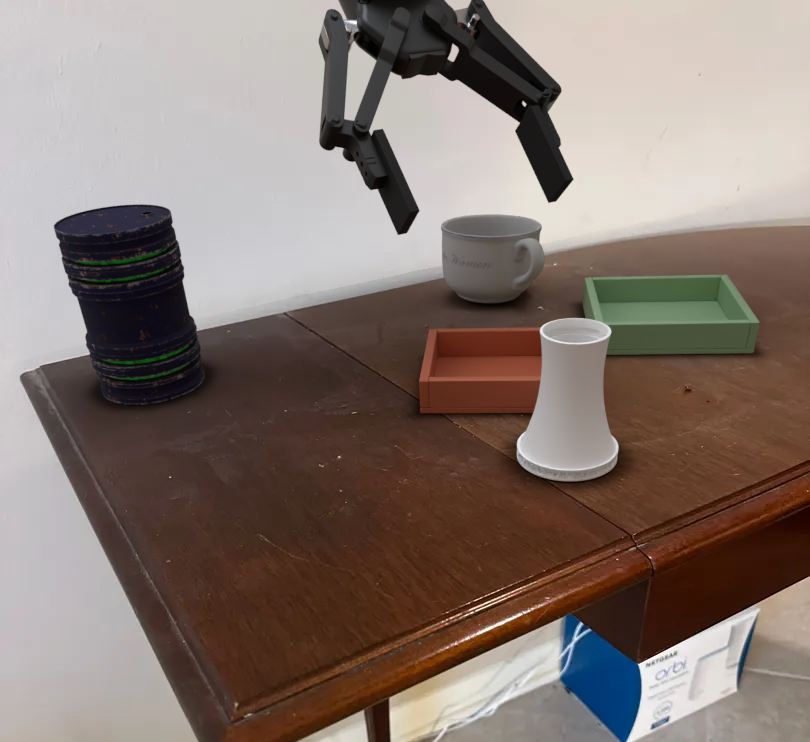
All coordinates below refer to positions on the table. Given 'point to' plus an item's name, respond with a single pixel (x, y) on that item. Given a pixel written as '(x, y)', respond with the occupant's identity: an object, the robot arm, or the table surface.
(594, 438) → the vase
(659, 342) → the green tray
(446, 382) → the terracotta tray
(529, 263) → the teacup
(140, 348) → the dark blue cylinder
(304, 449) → the table surface
